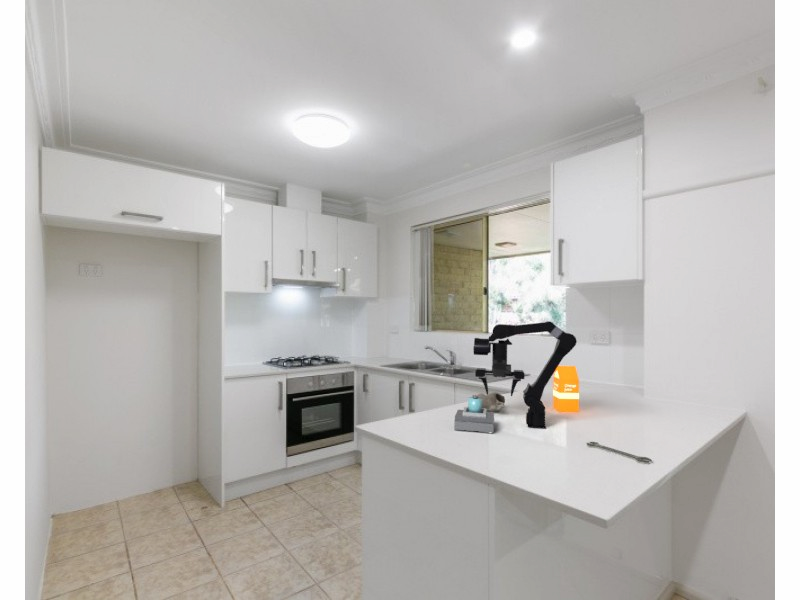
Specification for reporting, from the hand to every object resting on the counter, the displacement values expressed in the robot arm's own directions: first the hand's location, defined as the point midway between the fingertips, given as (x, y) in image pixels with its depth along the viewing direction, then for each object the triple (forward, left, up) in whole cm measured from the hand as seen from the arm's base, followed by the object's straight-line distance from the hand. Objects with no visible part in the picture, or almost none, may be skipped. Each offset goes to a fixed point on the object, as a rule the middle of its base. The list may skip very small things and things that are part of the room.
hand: (499, 395), depth 163 cm
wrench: (-36, +25, -12) cm, 46 cm away
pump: (+9, +9, -6) cm, 14 cm away
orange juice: (-29, -31, -11) cm, 44 cm away
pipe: (+4, -21, -11) cm, 24 cm away
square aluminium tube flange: (+9, +9, -11) cm, 17 cm away
